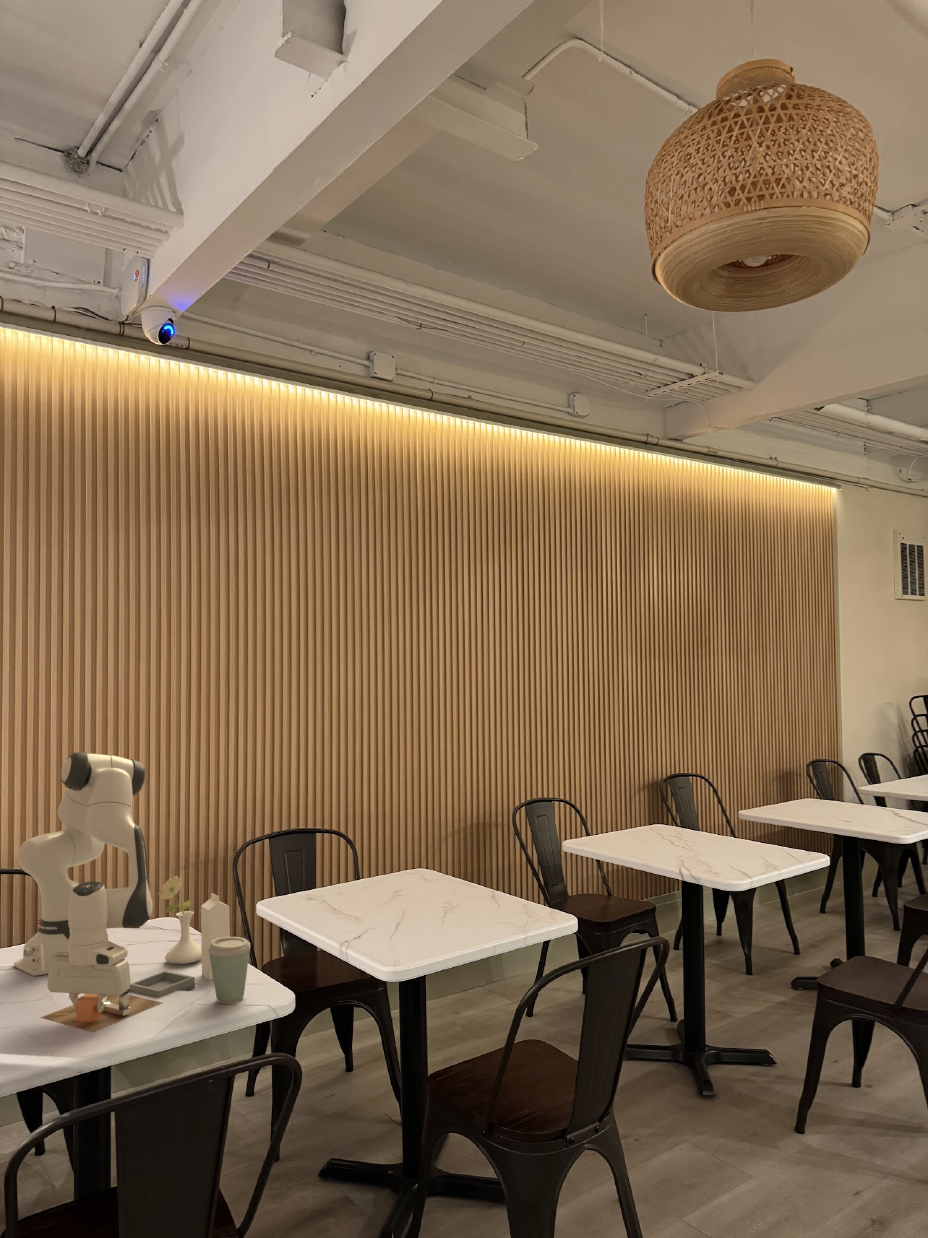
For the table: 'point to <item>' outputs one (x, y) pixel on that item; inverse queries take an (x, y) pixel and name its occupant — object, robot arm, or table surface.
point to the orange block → (87, 1008)
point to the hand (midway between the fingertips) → (88, 1011)
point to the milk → (212, 929)
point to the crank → (122, 1007)
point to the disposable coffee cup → (229, 967)
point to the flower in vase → (185, 947)
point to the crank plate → (106, 1018)
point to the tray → (163, 984)
